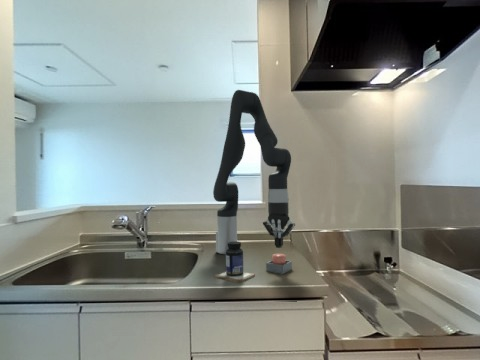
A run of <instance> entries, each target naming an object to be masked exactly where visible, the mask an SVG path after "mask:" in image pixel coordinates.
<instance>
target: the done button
mask: <svg viewBox="0 0 480 360" xmlns="http://www.w3.org/2000/svg"><path fill="white" fill-rule="evenodd" d="M271 255H272V257H271V258H272V259H271V260H272V263H273V264H279V265H284V264H286V260H287V259H286V257H287V255H286V254H284V253H273V254H271Z"/></svg>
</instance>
